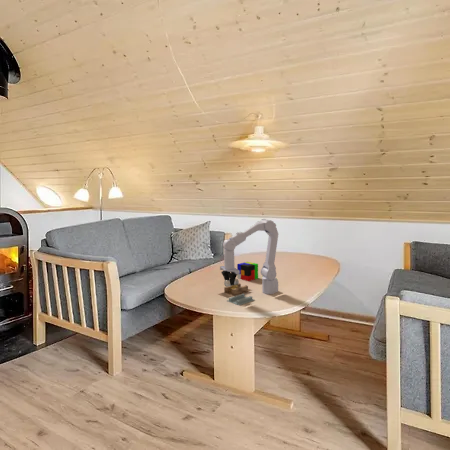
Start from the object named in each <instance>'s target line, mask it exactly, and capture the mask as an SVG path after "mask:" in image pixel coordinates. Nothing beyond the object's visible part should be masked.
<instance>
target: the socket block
mask: <svg viewBox="0 0 450 450" xmlns="http://www.w3.org/2000/svg"><path fill="white" fill-rule="evenodd" d="M223 288H224V292H221V293H217V296H221V297H223V298H224V297H225V298H226V299H229V298H231V297H234V296H237V295H241V294H245V293H249V292H251V291H253V289H249V285H246V284H245V285H243V286H242V284H241V283H240V282H239V284H238V288H235V289H232V290H231V292H232V293H231V292H230V288H232V286H228V287H226V286H224V287H223Z"/></svg>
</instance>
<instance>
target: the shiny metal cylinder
mask: <svg viewBox="0 0 450 450" xmlns="http://www.w3.org/2000/svg"><path fill="white" fill-rule="evenodd" d="M239 283H240V281H239V279H238V278H235V282H234V285H238V284H239ZM223 285H224V287H228V286H234V285H230V279H229V280H225V279H224V282H223Z"/></svg>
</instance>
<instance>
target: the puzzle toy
mask: <svg viewBox="0 0 450 450" xmlns="http://www.w3.org/2000/svg"><path fill="white" fill-rule="evenodd" d="M236 267H237V268H236V269H237V270H239V271H240V274H237V276H236V279H238V280H241V281H245V282H251V281H254V280H257V279H259V264H258V263H255V262H251V261H246V262H245V261H244V262H241V263H237V264H236Z"/></svg>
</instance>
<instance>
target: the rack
mask: <svg viewBox="0 0 450 450" xmlns="http://www.w3.org/2000/svg"><path fill="white" fill-rule="evenodd" d="M254 301H255V299H254V298H253V296H251V295H250V296H246V294H245V293H242V294H239V295H236V296H232V297H229V298H228V300H226V302H228V303H231V304H234V305H235V306H236V305H237V306H242V305H245V304H248V303H250V302H254Z"/></svg>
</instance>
